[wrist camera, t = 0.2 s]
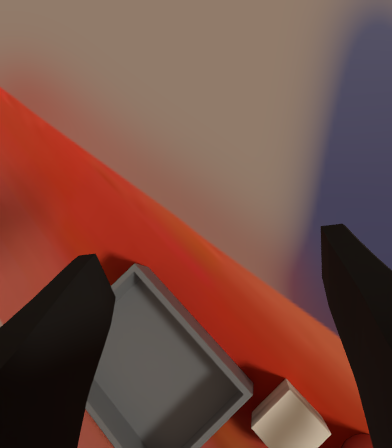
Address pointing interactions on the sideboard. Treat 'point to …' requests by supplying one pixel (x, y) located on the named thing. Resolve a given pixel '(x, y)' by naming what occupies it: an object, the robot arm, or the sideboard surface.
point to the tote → (161, 371)
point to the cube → (288, 420)
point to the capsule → (358, 441)
